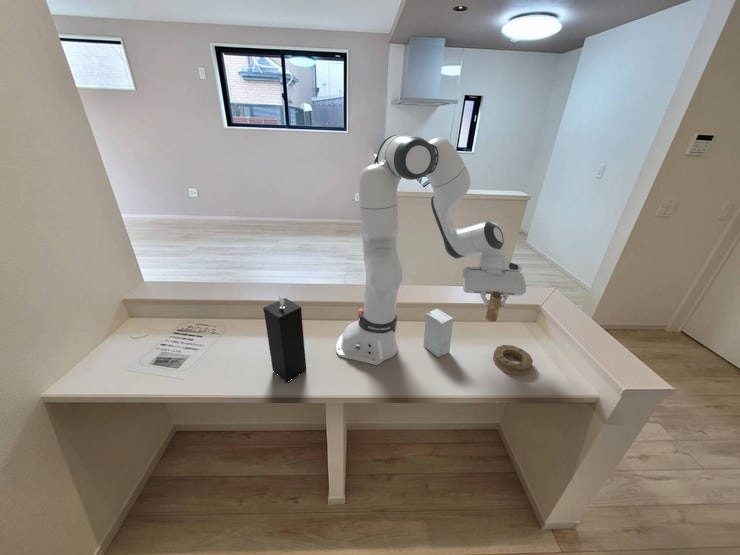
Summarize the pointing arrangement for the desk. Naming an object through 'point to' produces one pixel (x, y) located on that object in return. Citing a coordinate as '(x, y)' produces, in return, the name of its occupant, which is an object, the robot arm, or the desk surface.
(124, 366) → the desk surface
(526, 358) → the brown faceted ring
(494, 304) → the wooden peg
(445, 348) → the skincare box
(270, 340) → the square furniture leg
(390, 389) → the desk surface
